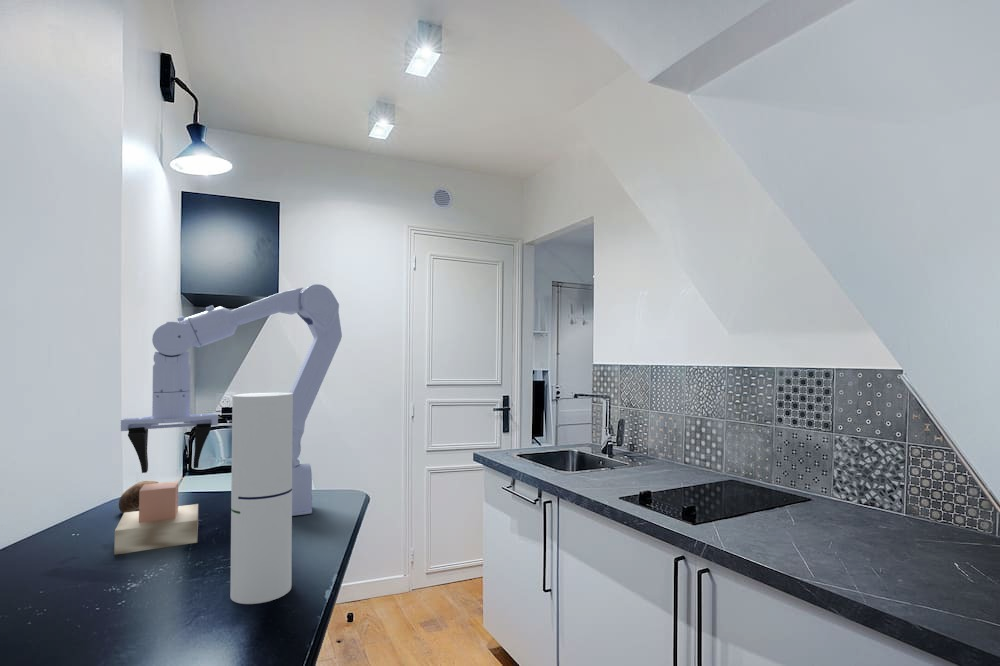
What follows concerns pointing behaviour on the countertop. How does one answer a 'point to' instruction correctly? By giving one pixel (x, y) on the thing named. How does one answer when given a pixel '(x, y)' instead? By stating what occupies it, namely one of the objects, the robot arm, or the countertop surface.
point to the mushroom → (132, 497)
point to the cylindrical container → (261, 497)
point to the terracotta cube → (158, 501)
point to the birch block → (156, 531)
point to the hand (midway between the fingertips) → (170, 469)
